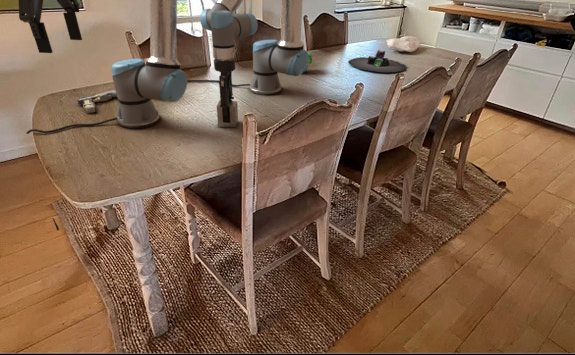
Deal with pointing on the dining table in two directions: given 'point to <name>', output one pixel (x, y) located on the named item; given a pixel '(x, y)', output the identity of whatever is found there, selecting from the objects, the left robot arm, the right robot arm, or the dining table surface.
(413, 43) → the crumpled cloth
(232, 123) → the brick
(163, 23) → the left robot arm
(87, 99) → the handgun
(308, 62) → the snack cup
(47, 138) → the dining table surface
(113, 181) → the dining table surface
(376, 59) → the dark round tray
